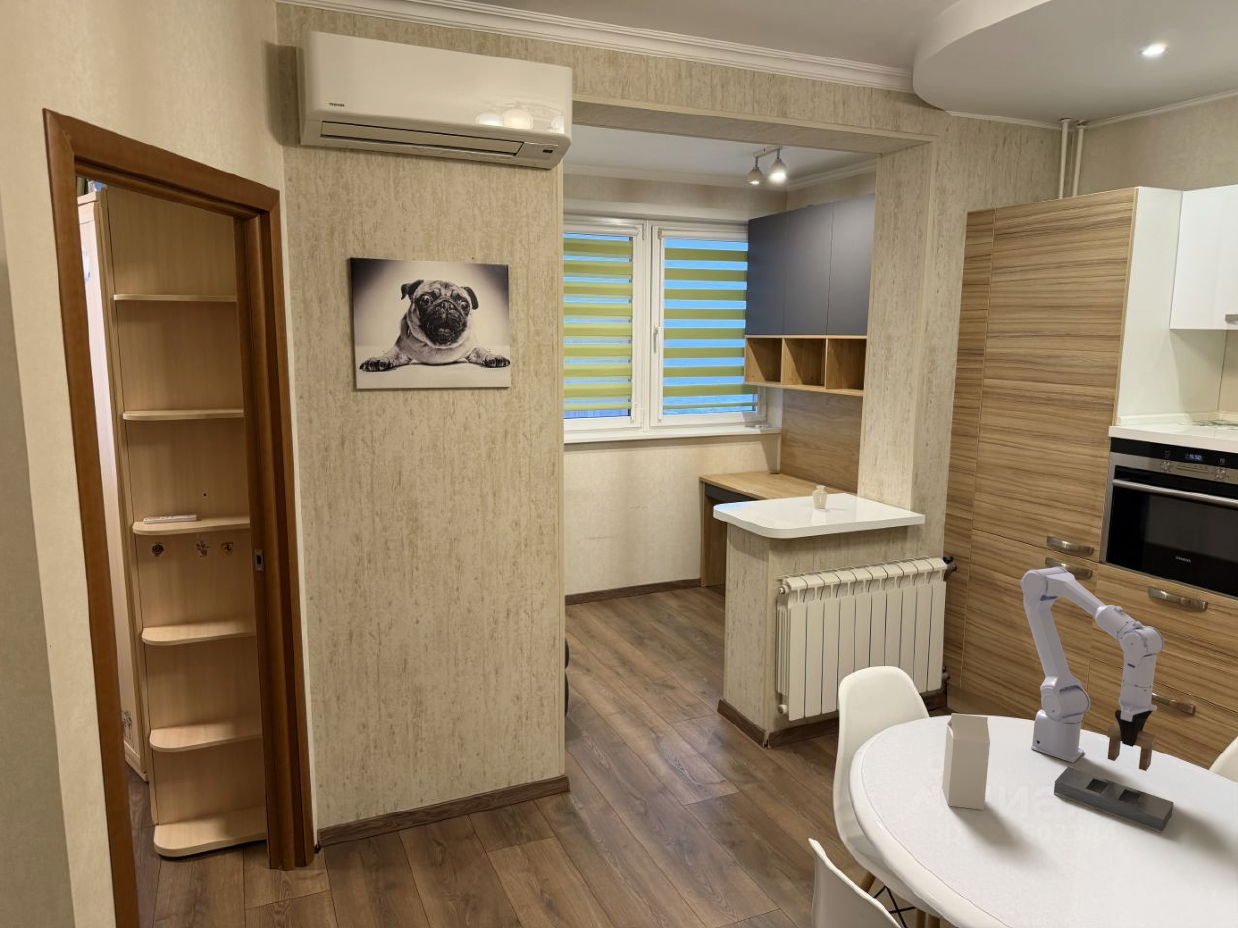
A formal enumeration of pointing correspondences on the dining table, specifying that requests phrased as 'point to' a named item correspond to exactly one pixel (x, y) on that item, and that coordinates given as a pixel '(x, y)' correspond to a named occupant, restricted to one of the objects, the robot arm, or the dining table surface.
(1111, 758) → the wooden arch block
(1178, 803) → the dining table surface
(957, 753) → the milk carton
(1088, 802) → the grey slotted block
